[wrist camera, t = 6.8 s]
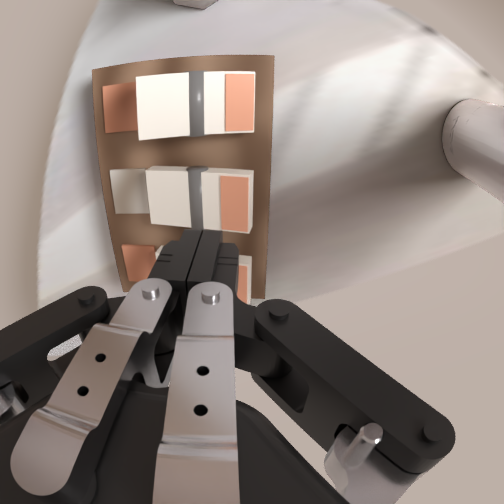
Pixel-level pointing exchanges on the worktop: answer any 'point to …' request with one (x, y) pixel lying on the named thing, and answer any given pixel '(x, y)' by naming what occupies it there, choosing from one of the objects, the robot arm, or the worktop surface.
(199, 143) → the switch unit
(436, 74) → the worktop surface
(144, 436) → the robot arm
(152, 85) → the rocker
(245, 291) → the rocker
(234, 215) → the rocker
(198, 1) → the flask
